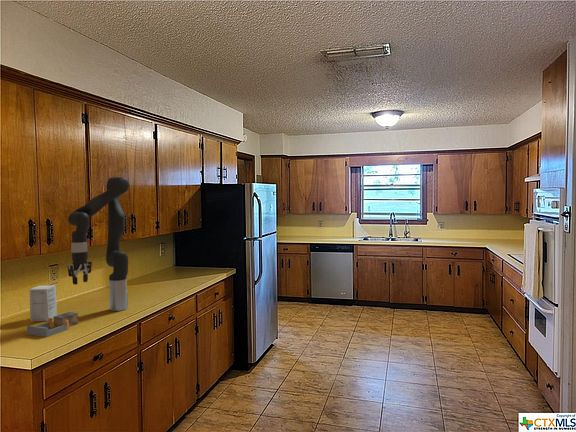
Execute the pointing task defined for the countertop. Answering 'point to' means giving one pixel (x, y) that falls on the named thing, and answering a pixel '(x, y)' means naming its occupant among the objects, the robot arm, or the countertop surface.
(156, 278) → the countertop surface
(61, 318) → the grey block
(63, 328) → the bay
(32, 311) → the supplement box
